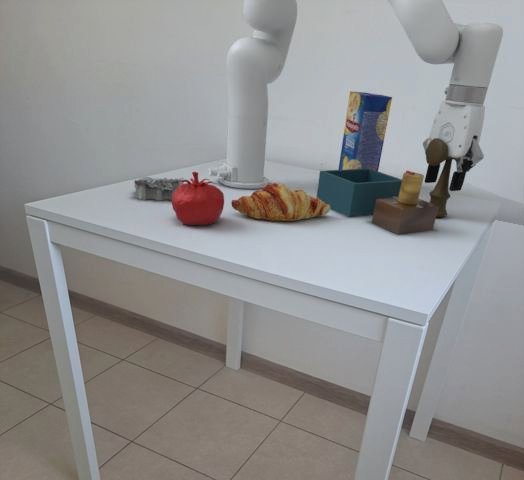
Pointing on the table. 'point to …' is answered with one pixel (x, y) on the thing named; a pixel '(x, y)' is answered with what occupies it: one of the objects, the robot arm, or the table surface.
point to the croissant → (280, 204)
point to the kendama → (435, 156)
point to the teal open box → (356, 190)
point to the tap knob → (410, 188)
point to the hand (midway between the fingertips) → (442, 185)
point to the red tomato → (197, 202)
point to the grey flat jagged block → (156, 188)
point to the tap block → (404, 215)
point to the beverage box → (364, 131)
